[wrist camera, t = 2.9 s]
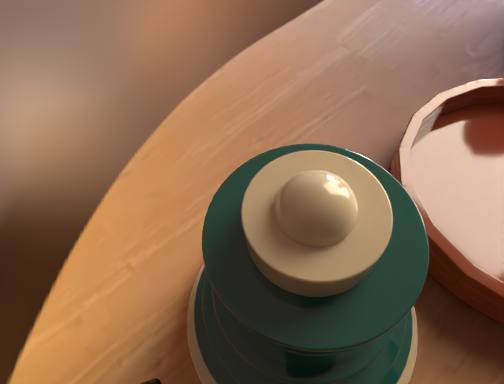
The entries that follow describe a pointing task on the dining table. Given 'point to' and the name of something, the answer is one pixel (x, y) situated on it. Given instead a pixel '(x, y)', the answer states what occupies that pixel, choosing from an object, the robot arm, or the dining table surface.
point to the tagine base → (460, 189)
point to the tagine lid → (308, 273)
